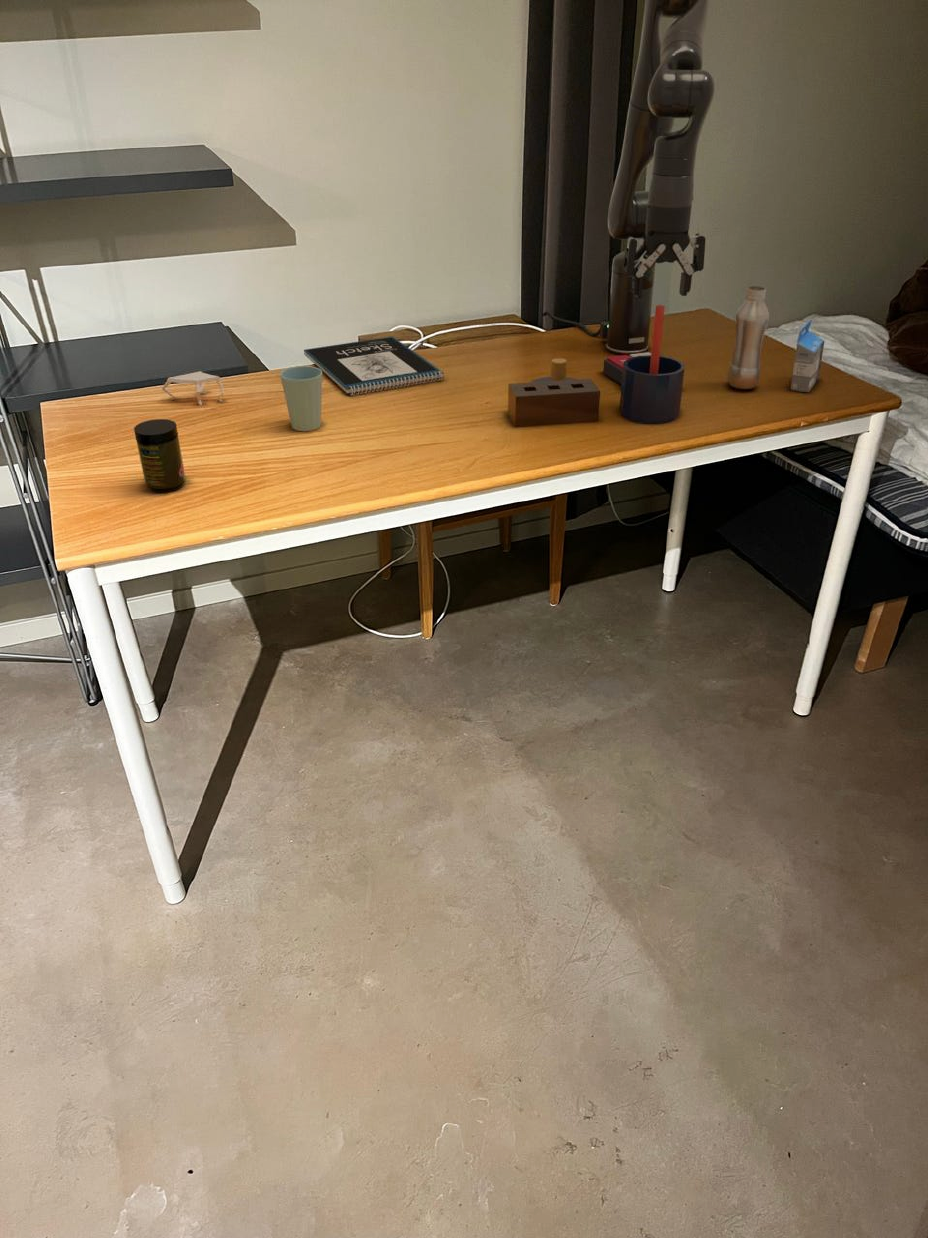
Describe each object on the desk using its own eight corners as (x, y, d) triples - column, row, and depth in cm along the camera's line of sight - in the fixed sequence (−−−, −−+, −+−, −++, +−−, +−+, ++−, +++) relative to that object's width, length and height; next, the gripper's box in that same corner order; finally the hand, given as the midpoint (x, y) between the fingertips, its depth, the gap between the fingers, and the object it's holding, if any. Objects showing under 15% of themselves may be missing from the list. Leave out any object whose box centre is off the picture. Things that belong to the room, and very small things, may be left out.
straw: (644, 408, 193) (654, 305, 182) (652, 408, 193) (663, 304, 182) (647, 411, 191) (657, 307, 180) (655, 411, 192) (665, 307, 181)
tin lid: (521, 383, 206) (521, 352, 203) (579, 380, 208) (581, 348, 204) (534, 405, 196) (535, 372, 192) (596, 401, 198) (598, 368, 194)
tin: (612, 403, 196) (616, 356, 191) (667, 400, 198) (672, 353, 193) (629, 425, 187) (633, 376, 182) (687, 421, 188) (693, 372, 183)
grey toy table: (222, 389, 205) (219, 366, 202) (226, 403, 198) (223, 379, 196) (163, 395, 202) (158, 372, 200) (165, 410, 196) (160, 386, 193)
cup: (323, 416, 192) (318, 363, 187) (330, 430, 186) (325, 377, 180) (284, 420, 191) (277, 368, 185) (289, 435, 184) (283, 381, 179)
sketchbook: (392, 341, 231) (392, 333, 230) (445, 381, 208) (445, 372, 207) (304, 354, 223) (303, 345, 222) (349, 397, 201) (348, 387, 199)
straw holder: (507, 413, 193) (508, 383, 190) (588, 407, 195) (590, 378, 192) (515, 426, 187) (515, 396, 184) (598, 421, 189) (600, 390, 186)
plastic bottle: (755, 381, 206) (770, 283, 195) (760, 393, 201) (776, 293, 190) (723, 381, 207) (737, 283, 196) (727, 392, 201) (742, 292, 190)
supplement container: (184, 492, 165) (174, 433, 159) (143, 495, 164) (130, 436, 158) (188, 475, 170) (178, 417, 164) (148, 477, 169) (136, 420, 164)
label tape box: (808, 393, 200) (819, 332, 194) (788, 389, 202) (798, 329, 195) (818, 380, 207) (830, 321, 200) (799, 376, 209) (809, 318, 202)
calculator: (650, 350, 212) (684, 368, 200) (649, 369, 215) (682, 389, 202) (603, 355, 210) (634, 374, 197) (602, 375, 212) (633, 395, 200)
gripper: (701, 195, 175) (690, 288, 184) (623, 198, 173) (616, 292, 182) (717, 203, 169) (705, 299, 178) (636, 207, 167) (628, 303, 176)
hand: (660, 295), depth 180 cm, fingers open, 8 cm apart
